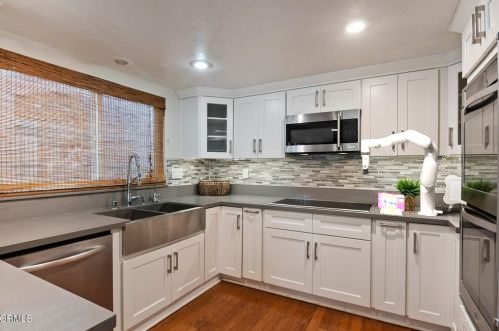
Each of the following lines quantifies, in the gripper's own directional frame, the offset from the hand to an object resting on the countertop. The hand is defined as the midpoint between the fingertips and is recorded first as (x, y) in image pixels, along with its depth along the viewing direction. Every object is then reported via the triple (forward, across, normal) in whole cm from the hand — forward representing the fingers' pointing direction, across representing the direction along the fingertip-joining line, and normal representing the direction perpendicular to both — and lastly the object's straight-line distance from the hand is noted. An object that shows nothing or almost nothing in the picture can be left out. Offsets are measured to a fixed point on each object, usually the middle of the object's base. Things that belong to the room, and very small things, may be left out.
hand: (365, 174), depth 230 cm
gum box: (+31, +12, -19) cm, 38 cm away
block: (+28, -10, -20) cm, 35 cm away
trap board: (+31, -6, -20) cm, 37 cm away
